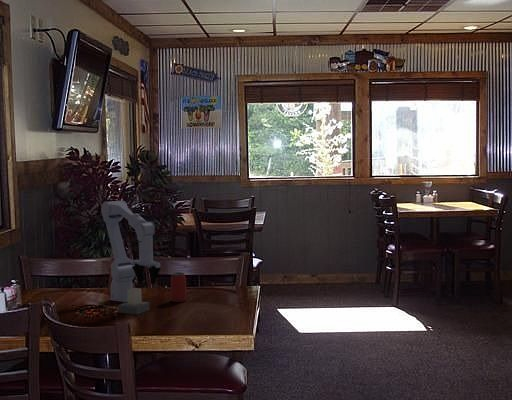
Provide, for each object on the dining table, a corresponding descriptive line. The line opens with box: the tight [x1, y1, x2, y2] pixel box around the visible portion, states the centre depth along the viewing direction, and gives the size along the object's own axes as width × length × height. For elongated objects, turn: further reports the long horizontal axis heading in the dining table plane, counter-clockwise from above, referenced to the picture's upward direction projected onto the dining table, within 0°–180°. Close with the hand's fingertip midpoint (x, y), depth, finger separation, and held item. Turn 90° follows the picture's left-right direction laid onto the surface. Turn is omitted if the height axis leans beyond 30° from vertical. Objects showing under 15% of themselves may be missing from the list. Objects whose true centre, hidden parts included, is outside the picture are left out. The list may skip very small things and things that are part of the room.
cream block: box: [127, 287, 143, 305], centre depth 278 cm, size 4×4×6 cm
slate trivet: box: [117, 301, 151, 315], centre depth 278 cm, size 9×9×3 cm
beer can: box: [170, 272, 187, 303], centre depth 296 cm, size 7×7×12 cm
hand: (146, 283), depth 286 cm, fingers open, 7 cm apart
